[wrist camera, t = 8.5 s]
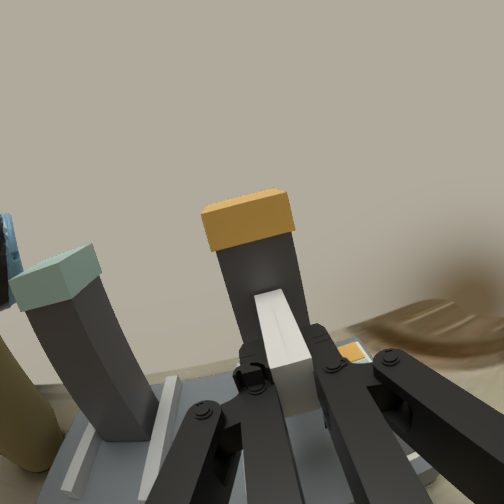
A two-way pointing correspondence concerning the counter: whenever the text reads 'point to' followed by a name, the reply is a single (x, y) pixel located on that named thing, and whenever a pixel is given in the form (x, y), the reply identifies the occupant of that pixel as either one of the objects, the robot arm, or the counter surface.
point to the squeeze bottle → (25, 418)
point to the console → (165, 429)
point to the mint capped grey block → (87, 343)
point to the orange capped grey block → (256, 254)
